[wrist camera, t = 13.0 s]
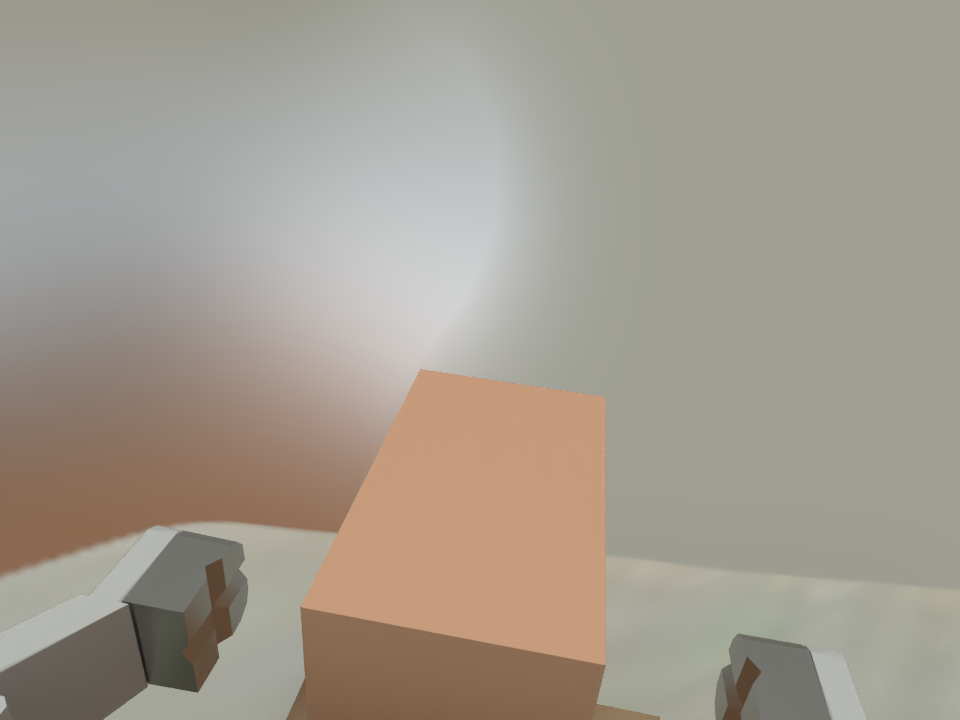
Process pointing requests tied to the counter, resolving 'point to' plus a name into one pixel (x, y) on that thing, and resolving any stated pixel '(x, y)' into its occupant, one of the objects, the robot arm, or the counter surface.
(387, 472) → the tan rectangular prism
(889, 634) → the counter surface
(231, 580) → the robot arm
